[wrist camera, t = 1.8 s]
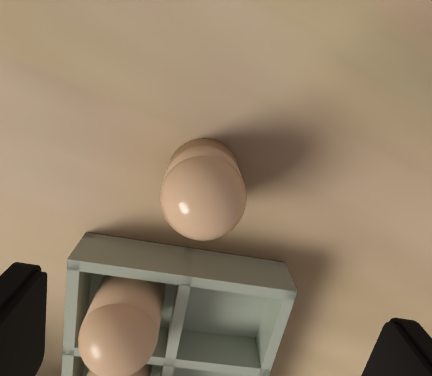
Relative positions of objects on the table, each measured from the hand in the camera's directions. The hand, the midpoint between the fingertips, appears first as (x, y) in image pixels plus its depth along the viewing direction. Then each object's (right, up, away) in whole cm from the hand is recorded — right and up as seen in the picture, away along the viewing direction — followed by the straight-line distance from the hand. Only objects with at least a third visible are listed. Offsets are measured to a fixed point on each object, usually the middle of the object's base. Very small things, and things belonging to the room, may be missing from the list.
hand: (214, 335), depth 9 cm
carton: (-4, -9, +17) cm, 20 cm away
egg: (-1, +5, +12) cm, 13 cm away
